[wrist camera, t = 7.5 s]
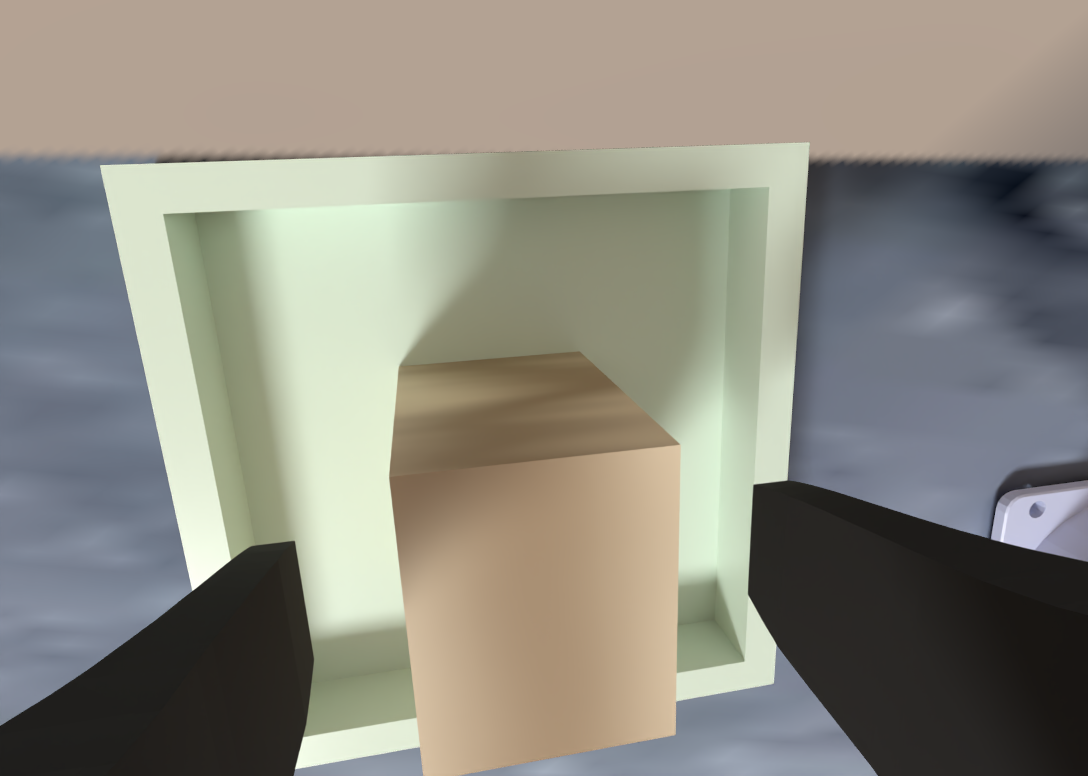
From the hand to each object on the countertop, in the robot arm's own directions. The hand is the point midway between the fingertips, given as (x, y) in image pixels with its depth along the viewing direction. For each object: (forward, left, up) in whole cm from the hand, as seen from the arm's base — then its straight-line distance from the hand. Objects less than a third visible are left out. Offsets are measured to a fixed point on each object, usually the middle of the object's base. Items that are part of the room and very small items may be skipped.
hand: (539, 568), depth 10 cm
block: (0, 0, -5) cm, 5 cm away
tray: (0, 0, -6) cm, 6 cm away
